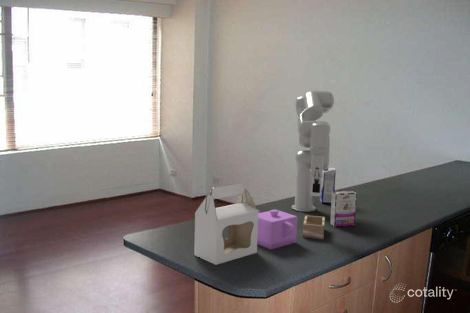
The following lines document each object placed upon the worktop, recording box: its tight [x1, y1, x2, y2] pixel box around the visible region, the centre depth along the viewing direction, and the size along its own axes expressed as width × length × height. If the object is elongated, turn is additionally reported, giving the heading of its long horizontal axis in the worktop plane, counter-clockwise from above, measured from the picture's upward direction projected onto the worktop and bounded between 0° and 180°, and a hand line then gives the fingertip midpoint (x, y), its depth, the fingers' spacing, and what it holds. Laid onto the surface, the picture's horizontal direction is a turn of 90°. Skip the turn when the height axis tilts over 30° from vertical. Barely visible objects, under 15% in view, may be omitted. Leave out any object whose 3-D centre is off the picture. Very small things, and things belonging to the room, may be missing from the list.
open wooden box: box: [302, 214, 326, 240], centre depth 233 cm, size 15×9×6 cm, turn 169°
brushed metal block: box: [311, 176, 322, 197], centre depth 230 cm, size 4×4×9 cm
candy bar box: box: [329, 190, 358, 228], centre depth 247 cm, size 11×5×16 cm, turn 105°
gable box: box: [193, 182, 259, 266], centre depth 202 cm, size 22×13×28 cm, turn 133°
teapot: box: [257, 209, 299, 251], centre depth 220 cm, size 15×25×14 cm, turn 40°
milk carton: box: [319, 166, 337, 205], centre depth 288 cm, size 7×7×20 cm
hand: (316, 190), depth 230 cm, fingers closed on brushed metal block, 4 cm apart
